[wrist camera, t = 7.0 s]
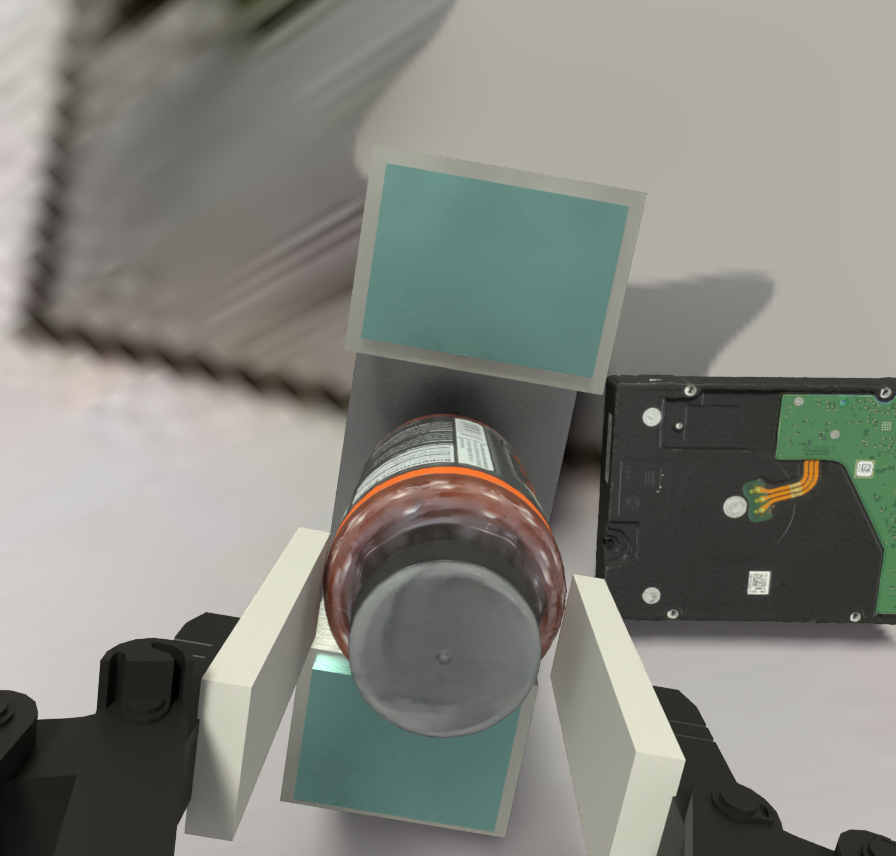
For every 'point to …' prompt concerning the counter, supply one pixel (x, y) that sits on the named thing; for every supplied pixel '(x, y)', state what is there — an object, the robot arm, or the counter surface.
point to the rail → (467, 394)
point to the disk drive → (749, 498)
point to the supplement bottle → (444, 579)
